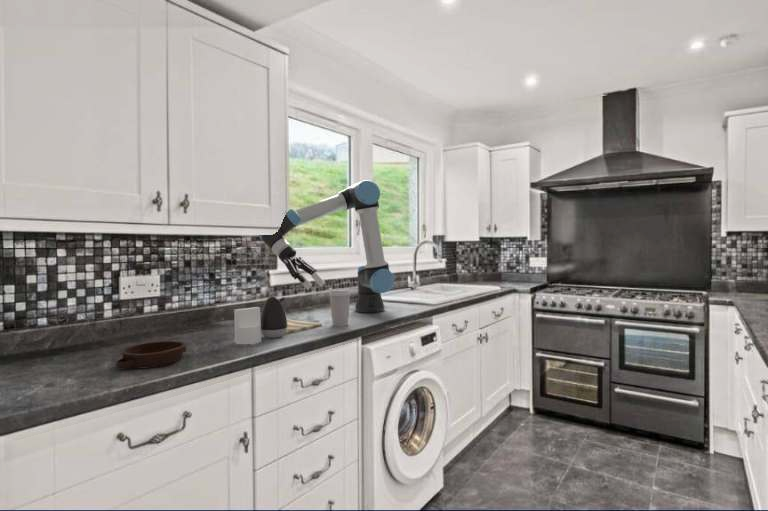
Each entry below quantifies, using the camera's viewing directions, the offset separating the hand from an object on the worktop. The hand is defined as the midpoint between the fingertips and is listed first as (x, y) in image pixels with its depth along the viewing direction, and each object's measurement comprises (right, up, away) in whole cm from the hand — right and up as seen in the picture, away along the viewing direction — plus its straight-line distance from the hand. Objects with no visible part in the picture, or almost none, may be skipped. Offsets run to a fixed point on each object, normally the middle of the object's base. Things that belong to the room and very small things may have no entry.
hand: (316, 285), depth 196 cm
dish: (-39, -19, -60) cm, 74 cm away
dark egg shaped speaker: (-12, -18, -26) cm, 33 cm away
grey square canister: (-19, -18, -34) cm, 43 cm away
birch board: (-11, -17, -7) cm, 21 cm away
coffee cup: (+10, -17, -2) cm, 20 cm away
